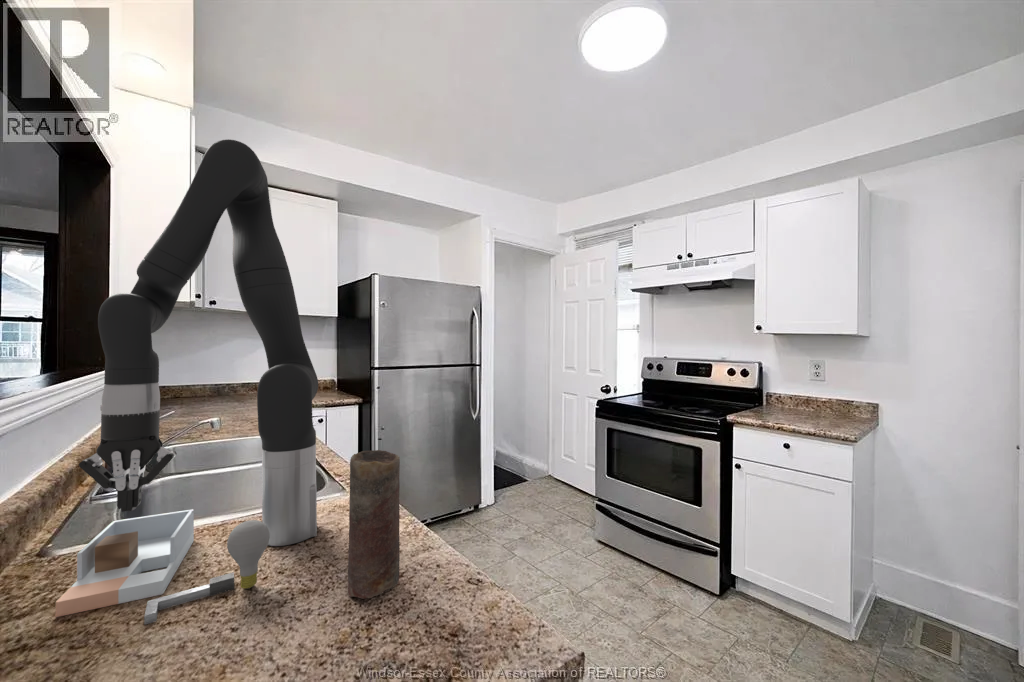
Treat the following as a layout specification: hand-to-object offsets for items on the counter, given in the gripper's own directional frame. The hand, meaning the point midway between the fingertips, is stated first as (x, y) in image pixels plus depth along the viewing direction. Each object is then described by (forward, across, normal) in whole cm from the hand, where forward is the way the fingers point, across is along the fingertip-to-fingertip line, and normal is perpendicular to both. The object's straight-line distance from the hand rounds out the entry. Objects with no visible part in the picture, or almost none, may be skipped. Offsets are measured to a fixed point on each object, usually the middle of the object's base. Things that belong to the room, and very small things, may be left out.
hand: (128, 509), depth 72 cm
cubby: (+8, -3, +7) cm, 11 cm away
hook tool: (+8, -13, +20) cm, 25 cm away
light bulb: (+8, -20, +20) cm, 29 cm away
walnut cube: (+6, 0, +6) cm, 9 cm away
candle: (+8, -37, +28) cm, 47 cm away
